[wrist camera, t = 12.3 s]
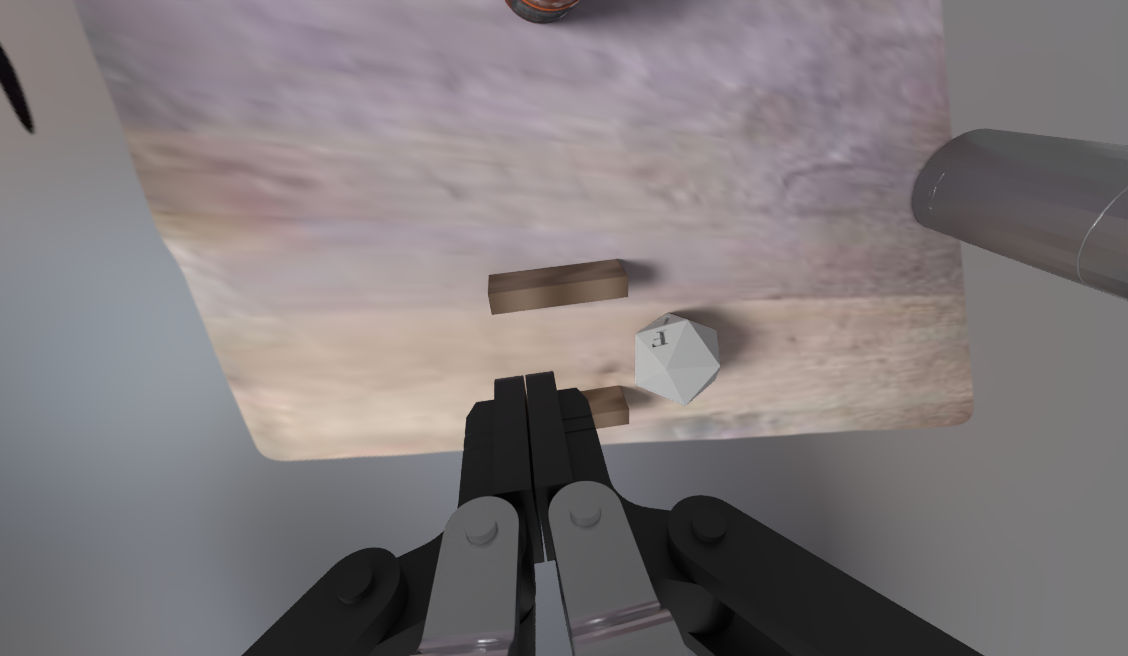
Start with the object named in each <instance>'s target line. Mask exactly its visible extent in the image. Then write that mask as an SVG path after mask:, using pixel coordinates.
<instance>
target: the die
mask: <svg viewBox="0 0 1128 656" xmlns="http://www.w3.org/2000/svg"><path fill="white" fill-rule="evenodd" d="M719 369H720V357H719V348H718V338H717V330H715V329H712V328H709V327H706V326H704V325H701V324H698V323H695V322H693V321H690V320H687V319H684V318H681V317H678V316H676V315H673V314H670V313H666V314H665V315H663V316H662V317H660V318H659V319H657V320H656V321H654V322H653V323H651V324H650V325H648V326H647V327H645V328H643V329H642V330H640V331H639V332H637V333H636V334H635V385H637V386H639V387H641V388H644V389H646V390H648V391H651V392H653V393H656V394H658V395H660V396H663V397H665V398H667V399H670V400H672V401H674V402H677V403H679V404H681V405H684V406H686V405H687V404H688V403H689V402H691V401H692V400H693V399H694V398H695V397H696V396H697V395H699V394H700V393H701V392H702V391H703V390H704V389H705V388H707V387H708V386H709V385H710V384H711V383H712V382H713V381H715V379H716V376H717V374H718V371H719Z"/></svg>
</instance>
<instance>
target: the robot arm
mask: <svg viewBox="0 0 1128 656" xmlns="http://www.w3.org/2000/svg"><path fill="white" fill-rule="evenodd" d="M912 208H913V212H914V216H915V217H916V219H917V221H918V222H919V223H920V224H922V225H923V226H924V227H927V228H929V229H932V230H935V231H938V232H940V233H943V234H946V235H948V236H951V237H954V238H956V239H959V240H961V241H964V242H967V243H969V244H972V245H975V246H978V247H980V248H983V249H986V250H989V251H991V252H994V253H997V254H999V255H1002V256H1005V257H1008V258H1011V259H1013V260H1016V261H1019V262H1021V263H1024V264H1027V265H1030V266H1032V267H1035V268H1038V269H1041V270H1043V271H1046V272H1049V273H1051V274H1054V275H1057V276H1060V277H1063V278H1065V279H1068V280H1071V281H1074V282H1076V283H1079V284H1082V285H1084V286H1087V287H1090V288H1093V289H1096V290H1099V291H1101V292H1104V293H1107V294H1110V295H1112V296H1115V297H1118V298H1121V299H1124V300H1126V301H1128V146H1127V145H1118V144H1110V143H1102V142H1093V141H1085V140H1076V139H1067V138H1059V137H1051V136H1042V135H1035V134H1026V133H1017V132H1009V131H1001V130H992V129H978V130H973V131H970V132H967V133H964V134H962V135H960V136H958V137H956V138H954V139H953V140H951V141H950V142H949V143H947V144H946V145H945V146H943V147H942V148H941V149H940V150H939V151H938V152H937V153H936V154H935V155H934V156H933V157H932V158H931V160H930V161H929V162H928V163H927V165H926V166H925V168H924V169H923V171H922V173H921V174H920V176H919V178H918V181H917V183H916V186H915V188H914V193H913V197H912ZM525 376H526V388H527V395H526V389H525V382H524V377H523V375H522V376H515V377H508V378H501V379H495V382H494V400H488V401H481V402H476V403H475V405H474V406H473V408H472V410H471V411H470V413H469V414H468V416H467V417H466V427H465V438H464V451H463V459H462V470H461V480H460V491H459V502H458V508H457V510H456V511H455V512H454V513H453V514H452V516H451V517H450V518H449V520H448V522H447V524H446V526H445V529H444V531H443V532H442V533H441V534H440V535H439V536H437V537H436V538H435V539H433V540H432V541H430V542H429V543H427V544H425V545H423V546H421V547H419V548H417V549H414V550H412V551H410V552H408V553H406V554H404V555H402V556H400V557H397V558H396V557H395V556H394V555H393V554H392V553H391V552H390V551H388V550H386V549H382V548H366V549H362V550H359V551H356V552H354V553H352V554H350V555H348V556H346V557H345V558H343V559H342V560H340V561H339V562H338V563H337V564H335V565H334V566H333V567H332V568H331V569H330V570H329V571H328V572H327V573H326V574H325V575H324V576H323V577H322V578H321V579H320V580H319V581H318V582H317V583H316V584H315V585H313V587H312V588H310V589H309V590H308V591H307V592H306V593H305V594H304V595H303V596H302V597H301V598H300V599H299V600H298V601H297V602H296V603H295V604H294V605H293V606H292V607H291V608H290V609H289V610H288V611H287V612H286V613H285V614H284V615H283V616H282V617H281V618H280V619H279V620H278V621H277V622H276V623H275V624H274V625H272V626H271V627H270V629H268V630H267V631H266V632H265V633H264V634H263V635H262V636H261V637H260V638H259V639H258V640H257V641H256V642H255V643H254V644H253V645H252V646H251V647H250V648H249V649H248V650H247V651H246V652H245V653H244V654H243V655H242V656H536V602H535V595H536V583H535V569H534V564H535V563H542V562H544V552H543V540H542V531H543V536H544V543H545V548H546V554H547V561H552V560H555V562H556V568H557V575H558V581H559V588H560V594H561V601H562V605H563V611H564V616H565V621H566V626H567V632H568V637H569V642H570V647H571V652H572V656H689V655H688V652H687V650H686V647H685V645H686V646H687V647H688V648H689V649H690V650H692V651H693V652H694V653H695V654H696V655H697V656H984V655H982V654H980V653H979V652H977V651H975V650H974V649H972V648H970V647H968V646H967V645H965V644H964V643H962V642H960V641H958V640H957V639H955V638H953V637H952V636H950V635H948V634H947V633H945V632H943V631H942V630H940V629H938V628H937V627H935V626H933V625H931V624H930V623H928V622H927V621H925V620H923V619H922V618H920V617H918V616H916V615H915V614H913V613H911V612H910V611H908V610H906V609H905V608H903V607H901V606H900V605H898V604H896V603H895V602H893V601H891V600H890V599H888V598H886V597H885V596H883V595H881V594H880V593H878V592H876V591H874V590H873V589H871V588H869V587H868V586H866V585H864V584H863V583H861V582H859V581H858V580H856V579H854V578H853V577H851V576H849V575H848V574H846V573H844V572H843V571H841V570H839V569H837V568H836V567H834V566H832V565H831V564H829V563H827V562H825V561H824V560H822V559H821V558H819V557H817V556H816V555H814V554H812V553H810V552H809V551H807V550H806V549H804V548H802V547H801V546H799V545H797V544H795V543H794V542H792V541H790V540H789V539H787V538H785V537H784V536H782V535H780V534H779V533H777V532H775V531H773V530H772V529H770V528H769V527H767V526H765V525H763V524H762V523H760V522H758V521H757V520H755V519H753V518H752V517H750V516H748V515H747V514H745V513H743V512H742V511H740V510H738V509H737V508H735V507H733V506H732V505H730V504H728V503H726V502H724V501H723V500H720V499H718V498H715V497H710V496H702V495H700V496H699V495H698V496H691V497H687V498H685V499H683V500H681V501H679V502H678V503H677V504H676V505H675V506H674V507H673V509H672V510H671V511H669V510H661V509H654V508H647V507H642V506H639V505H635V504H633V503H632V502H629V501H627V500H626V499H625V498H623V497H622V496H621V495H620V494H619V493H618V492H617V491H616V490H615V489H614V487H613V485H612V484H611V481H610V478H609V475H608V471H607V467H606V464H605V460H604V456H603V453H602V449H601V445H600V442H599V438H598V434H597V431H596V427H595V423H594V420H593V417H592V412H591V408H590V405H589V401H588V399H587V398H586V397H585V396H584V395H583V394H582V393H581V392H580V391H579V390H578V389H577V388H570V389H563V390H557V389H556V383H555V378H554V372H553V371H549V372H542V373H535V374H528V375H525ZM527 400H528V401H527ZM541 525H542V530H541ZM684 644H685V645H684Z"/></svg>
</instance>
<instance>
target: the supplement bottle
mask: <svg viewBox="0 0 1128 656" xmlns="http://www.w3.org/2000/svg"><path fill="white" fill-rule="evenodd" d="M579 1H580V0H505V2H506V3H507V5H508V6H509V7H510V8H511V9H512V11H513V12H514V13H515V14H517V15H518V16H519V17H521V18H523V19H524V20H526V21H529V22H532V23H538V24H546V23H550V22H553V21H556V20H558V19H560V18H561V17H563V16H564V15H565V14H567V13H568V12H569V11H570V10H571V9H572V8H573V7H574V6H575V5H576V4H577V3H578V2H579Z"/></svg>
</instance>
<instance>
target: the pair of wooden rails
mask: <svg viewBox="0 0 1128 656" xmlns="http://www.w3.org/2000/svg"><path fill="white" fill-rule="evenodd" d="M488 297H489V302H490V308H491V313H492V315H494V314H502V313H509V312H517V311H525V310H532V309H540V308H547V307H555V306H563V305H570V304H578V303H585V302H593V301H601V300H608V299H616V298H623V297H628V275H627V274H626V272H625V271H624V269H623V268H622V266H621V264H620V263H619V261H618V260H617V259H614V260H606V261H598V262H590V263H582V264H574V265H566V266H558V267H550V268H542V269H534V270H526V271H518V272H510V273H502V274H494V275H489V283H488ZM580 392H581V393H582V394H583V395H584V396H585V397H586V398H587V399H588V401H589V405H590V408H591V412H592V417H593V420H594V423H595V427H596V429H598V428H605V427H612V426H618V425H625V424H629V408H628V406H627V403H626V401H625V398H624V395H623V393H622V390H621V388H620V386H614V387H607V388H601V389H594V390H587V391H580ZM527 401H528V400H527Z"/></svg>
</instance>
